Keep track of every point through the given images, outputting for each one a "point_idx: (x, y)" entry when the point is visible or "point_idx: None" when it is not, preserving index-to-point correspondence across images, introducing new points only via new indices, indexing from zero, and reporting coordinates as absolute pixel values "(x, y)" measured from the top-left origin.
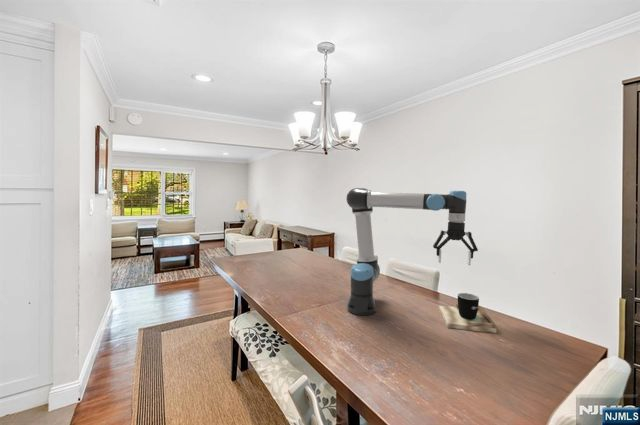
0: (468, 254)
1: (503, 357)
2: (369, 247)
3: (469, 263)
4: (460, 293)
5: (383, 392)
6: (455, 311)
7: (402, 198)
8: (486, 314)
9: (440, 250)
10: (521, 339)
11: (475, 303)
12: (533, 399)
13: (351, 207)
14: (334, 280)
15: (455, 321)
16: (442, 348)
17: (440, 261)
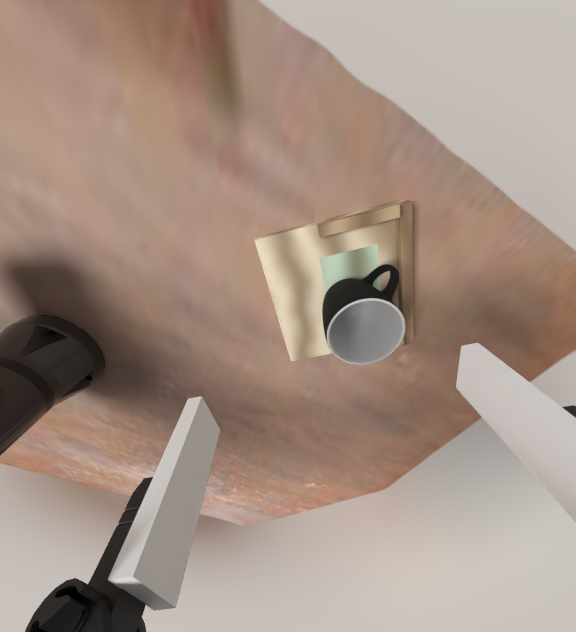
0: (566, 472)
1: (384, 413)
2: None
3: (474, 399)
4: (338, 314)
5: (236, 509)
6: (312, 271)
7: None
8: (409, 278)
9: (165, 600)
10: (452, 337)
11: (381, 349)
12: (389, 472)
13: None
14: None
15: (310, 342)
16: (286, 427)
17: (215, 442)
